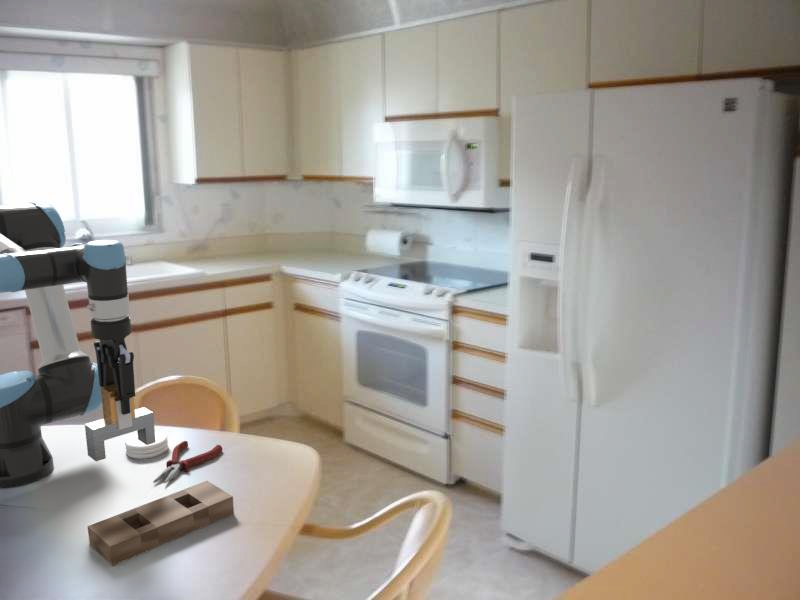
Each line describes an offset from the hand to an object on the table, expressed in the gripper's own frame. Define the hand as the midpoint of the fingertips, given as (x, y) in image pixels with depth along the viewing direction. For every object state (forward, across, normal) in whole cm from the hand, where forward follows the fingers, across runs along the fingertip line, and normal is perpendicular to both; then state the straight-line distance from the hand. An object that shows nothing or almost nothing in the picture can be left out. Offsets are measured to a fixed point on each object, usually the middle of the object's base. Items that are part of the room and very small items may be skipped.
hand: (120, 423), depth 153 cm
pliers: (+19, -8, +17) cm, 26 cm away
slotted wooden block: (+18, +16, 0) cm, 24 cm away
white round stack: (+18, -20, +15) cm, 31 cm away
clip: (+6, 0, 0) cm, 6 cm away
